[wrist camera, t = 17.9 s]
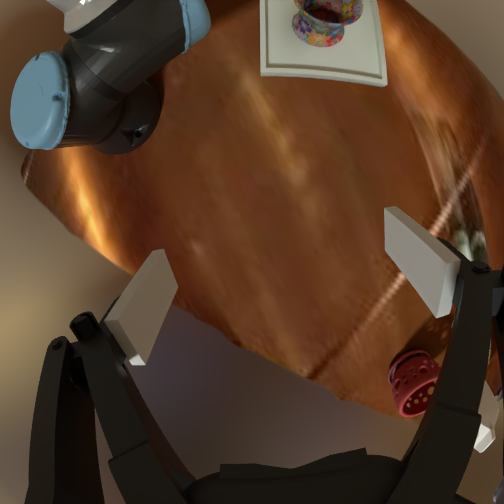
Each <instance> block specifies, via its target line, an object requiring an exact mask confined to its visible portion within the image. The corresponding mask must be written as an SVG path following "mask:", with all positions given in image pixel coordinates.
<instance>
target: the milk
mask: <svg viewBox="0 0 504 504" xmlns="http://www.w3.org/2000/svg"><path fill="white" fill-rule="evenodd" d="M498 413H499V405H498V403H497V401H496V399H495V397H494V395H493V393H492V391H491V390H490V388H489V386H488V384H487V382H486V381H485V382H484V388H483V392H482V397H481V402H480V406H479V411H478V414H481V416H482V419H481V425H480V428H479V432H478V435H477V439H476V442H475V445H474V448H475V449H476V450H477V451H479V452H480V453H481V452H483V451H484V450H485V449H486V448H487V447H488V446H489V445H490V444H491V443H492V442H493V441H494V439H495V438H496V437H495V431H494V426H495V423H496V420H497V416H498Z"/></svg>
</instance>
